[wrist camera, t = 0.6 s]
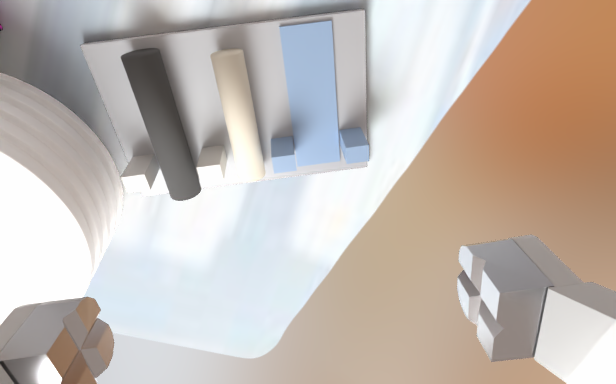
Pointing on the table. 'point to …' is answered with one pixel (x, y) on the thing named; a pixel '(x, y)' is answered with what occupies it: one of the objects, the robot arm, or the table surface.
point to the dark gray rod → (162, 121)
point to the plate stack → (51, 198)
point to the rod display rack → (264, 90)
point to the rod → (239, 112)
